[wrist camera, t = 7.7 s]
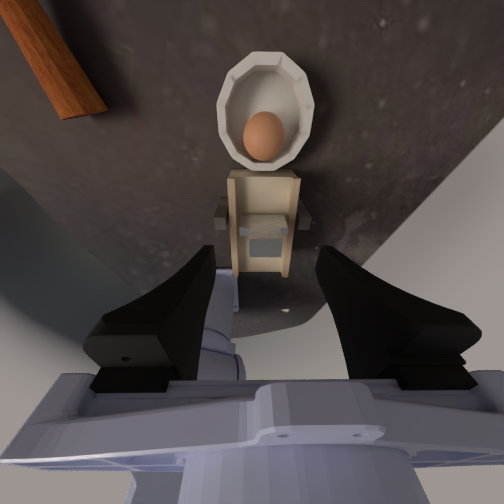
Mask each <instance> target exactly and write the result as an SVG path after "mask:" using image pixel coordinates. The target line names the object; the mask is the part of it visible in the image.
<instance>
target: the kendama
mask: <svg viewBox="0 0 504 504" xmlns="http://www.w3.org/2000/svg"><path fill="white" fill-rule="evenodd" d="M0 14H1V16H2V18H3V19H4V21H5V23H6V25H7V26H8V28H9V30H10V31H11V33H12V35H13V37H14V38H15V40H16V42H17V44H18V45H19V47H20V49H21V51H22V52H23V54H24V56H25V57H26V59H27V61H28V63H29V64H30V66H31V68H32V70H33V71H34V73H35V75H36V77H37V78H38V80H39V82H40V83H41V85H42V87H43V89H44V90H45V92H46V94H47V96H48V97H49V99H50V101H51V102H52V104H53V106H54V108H55V109H56V111H57V113H58V115H59V116H60V118H61V120H65V119H72V118H78V117H83V116H88V115H93V114H97V113H102V112H106V111H108V108H107V107H106V105H105V104H104V102H103V100H102V99H101V97H100V96H99V94H98V93H97V91H96V90H95V88H94V87H93V85H92V84H91V82H90V80H89V79H88V77H87V76H86V74H85V73H84V71H83V70H82V68H81V67H80V65H79V63H78V62H77V60H76V59H75V57H74V56H73V54H72V53H71V51H70V50H69V48H68V47H67V45H66V43H65V42H64V40H63V39H62V37H61V36H60V34H59V33H58V31H57V30H56V28H55V26H54V25H53V23H52V22H51V20H50V19H49V17H48V16H47V14H46V13H45V11H44V10H43V8H42V6H41V5H40V3H39V2H38V0H0Z"/></svg>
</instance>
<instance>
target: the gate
mask: <svg viewBox="0 0 504 504" xmlns="http://www.w3.org/2000/svg"><path fill="white" fill-rule="evenodd" d="M239 228H240V236H249V257H281V254H282V246H283V236H287V233H288V226H287V223H286V220H285V217H284V215H269V214H241V217H240V227H239Z"/></svg>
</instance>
